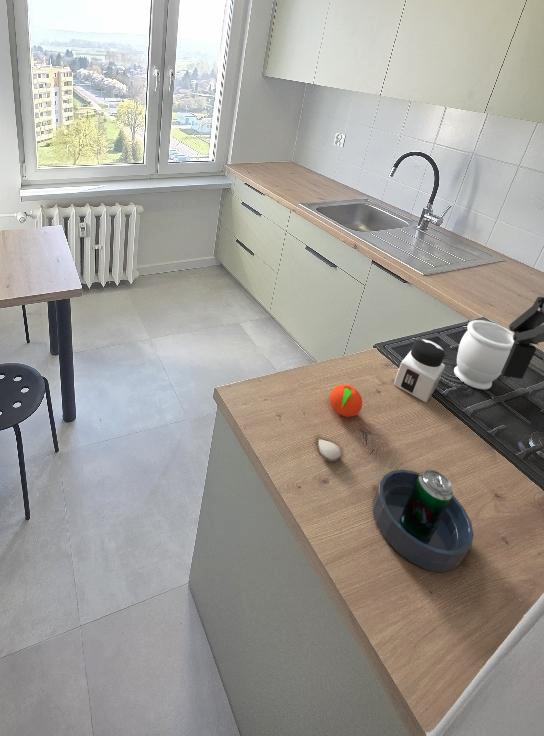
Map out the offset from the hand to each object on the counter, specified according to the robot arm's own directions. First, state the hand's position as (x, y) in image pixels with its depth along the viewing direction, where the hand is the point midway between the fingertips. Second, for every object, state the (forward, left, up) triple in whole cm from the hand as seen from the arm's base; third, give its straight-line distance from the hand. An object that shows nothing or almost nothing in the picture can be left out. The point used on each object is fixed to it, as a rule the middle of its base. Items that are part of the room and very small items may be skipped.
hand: (531, 409), depth 64 cm
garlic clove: (+25, -3, -29) cm, 38 cm away
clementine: (+23, -16, -29) cm, 40 cm away
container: (+6, -34, -29) cm, 45 cm away
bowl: (+8, +5, -29) cm, 31 cm away
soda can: (+8, +5, -29) cm, 30 cm away
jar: (-8, -45, -29) cm, 54 cm away
